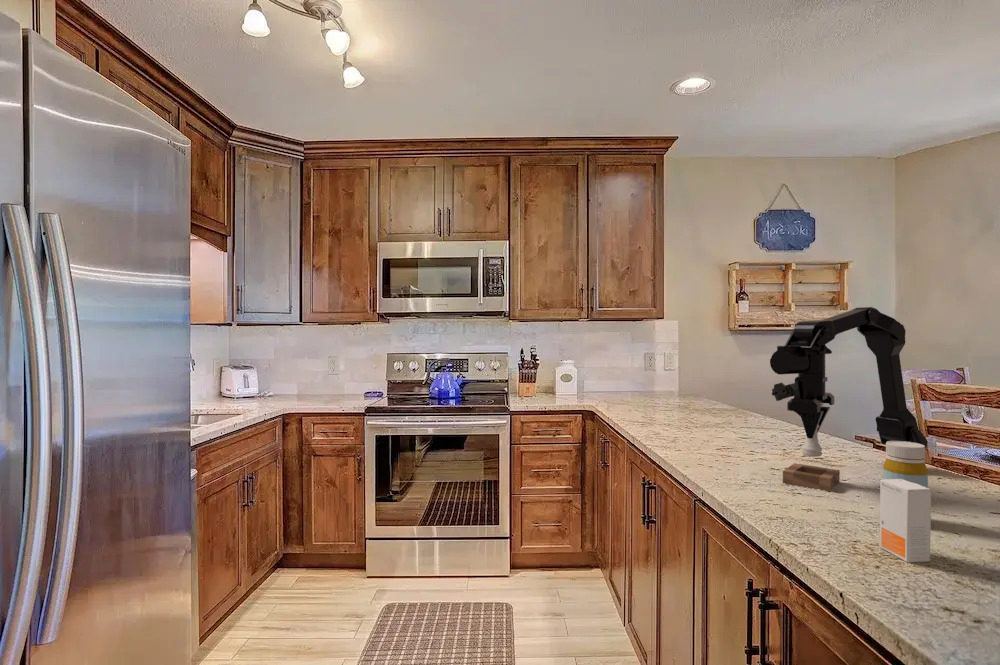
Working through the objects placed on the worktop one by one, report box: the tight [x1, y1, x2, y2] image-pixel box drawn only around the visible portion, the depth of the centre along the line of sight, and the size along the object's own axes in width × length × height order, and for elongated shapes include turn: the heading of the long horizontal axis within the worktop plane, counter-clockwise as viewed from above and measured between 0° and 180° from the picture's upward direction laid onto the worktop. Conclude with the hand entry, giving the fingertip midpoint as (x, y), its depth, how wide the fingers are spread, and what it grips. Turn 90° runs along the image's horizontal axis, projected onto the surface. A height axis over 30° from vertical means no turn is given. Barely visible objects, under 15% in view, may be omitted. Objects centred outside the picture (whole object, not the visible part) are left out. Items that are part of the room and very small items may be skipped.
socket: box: [782, 462, 841, 492], centre depth 132 cm, size 10×10×3 cm
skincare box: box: [878, 478, 932, 564], centre depth 91 cm, size 6×4×12 cm
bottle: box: [882, 441, 929, 488], centre depth 107 cm, size 7×7×15 cm
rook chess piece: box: [801, 425, 823, 458], centre depth 132 cm, size 4×4×8 cm
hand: (811, 437), depth 132 cm, fingers closed on rook chess piece, 3 cm apart
